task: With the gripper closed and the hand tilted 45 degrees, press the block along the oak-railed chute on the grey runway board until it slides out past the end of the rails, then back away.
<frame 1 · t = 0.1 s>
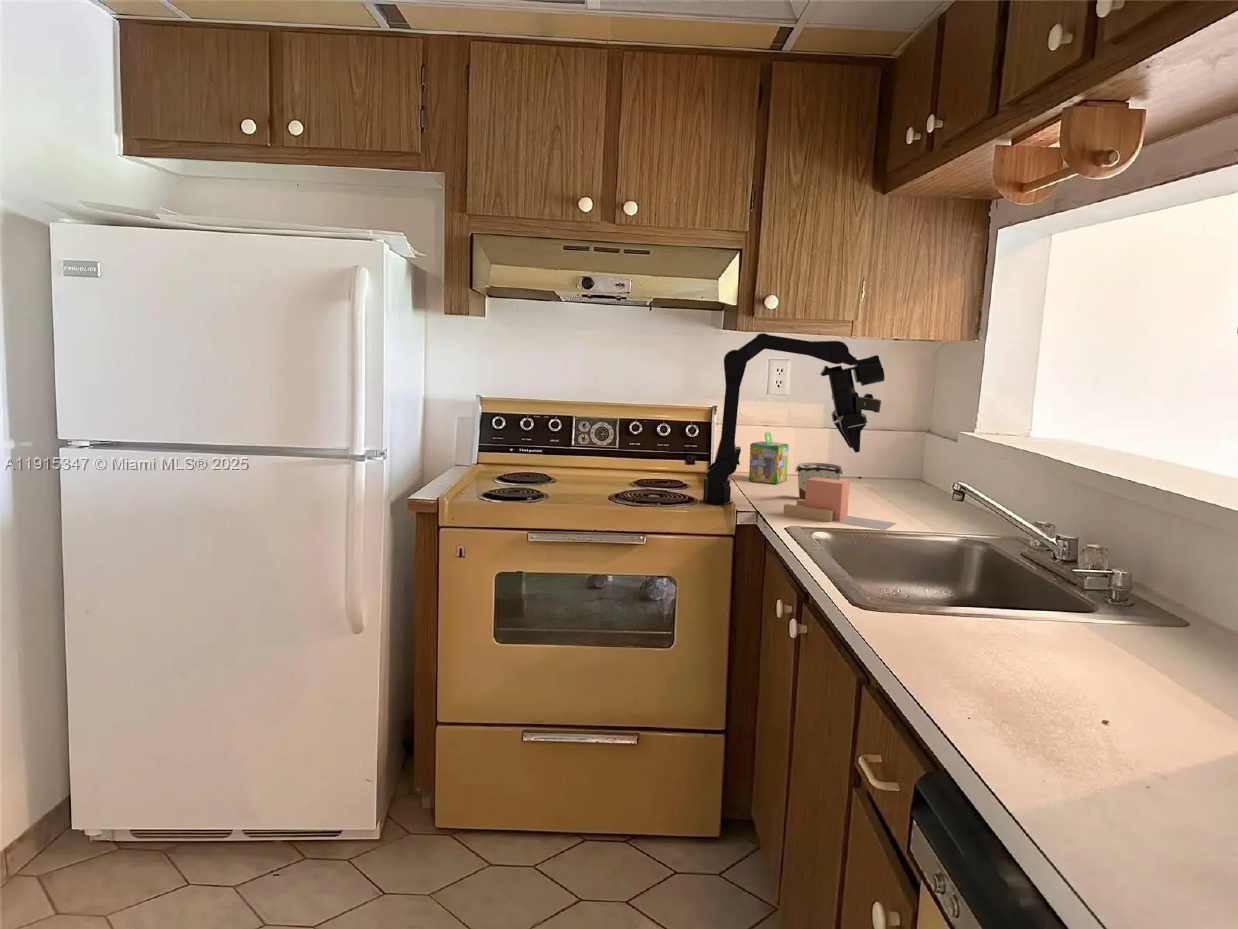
hand: (854, 449, 230), 15 cm above the worktop, tool pointing down, fingers open, 9 cm apart
chalk box: (767, 481, 272), on the worktop
chute: (813, 517, 220), on the worktop
block: (825, 516, 219), point 1 cm above the worktop, touching chute
food container: (815, 501, 243), on the worktop
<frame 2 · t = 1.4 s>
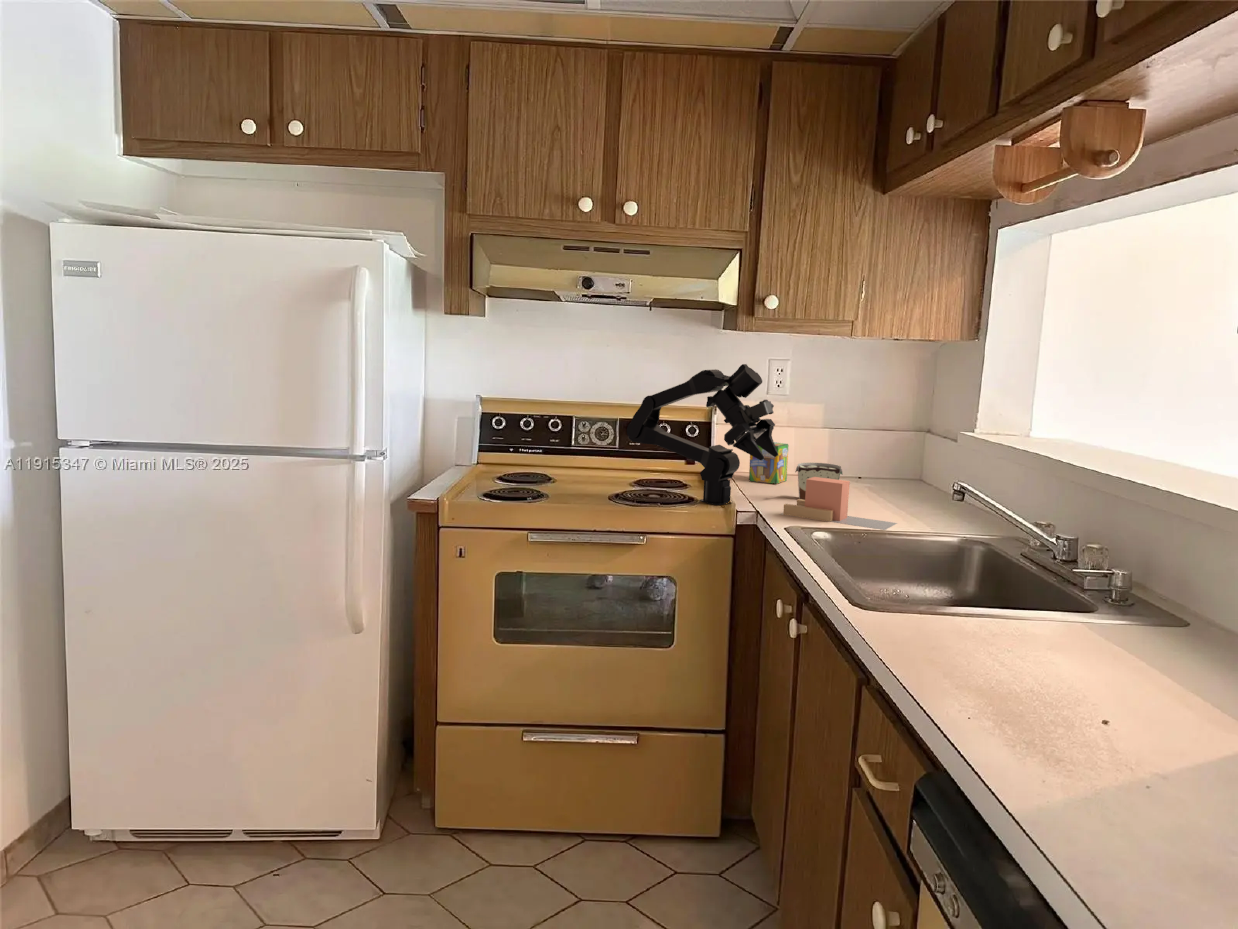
hand: (769, 457, 225), 13 cm above the worktop, tool tilted 45°, fingers open, 8 cm apart
nothing on the worktop moved.
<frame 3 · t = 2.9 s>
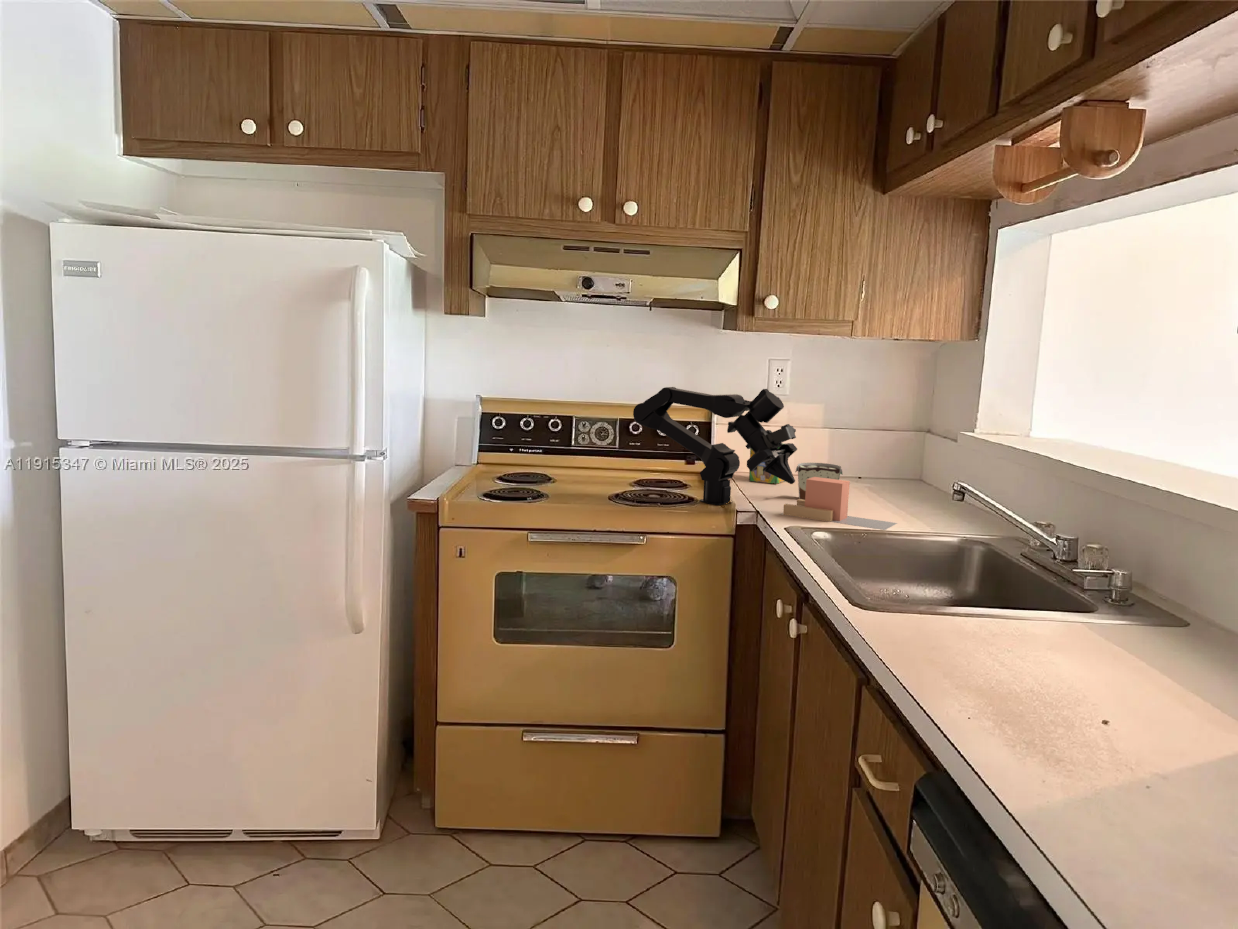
hand: (793, 482, 222), 8 cm above the worktop, tool tilted 45°, fingers closed
nothing on the worktop moved.
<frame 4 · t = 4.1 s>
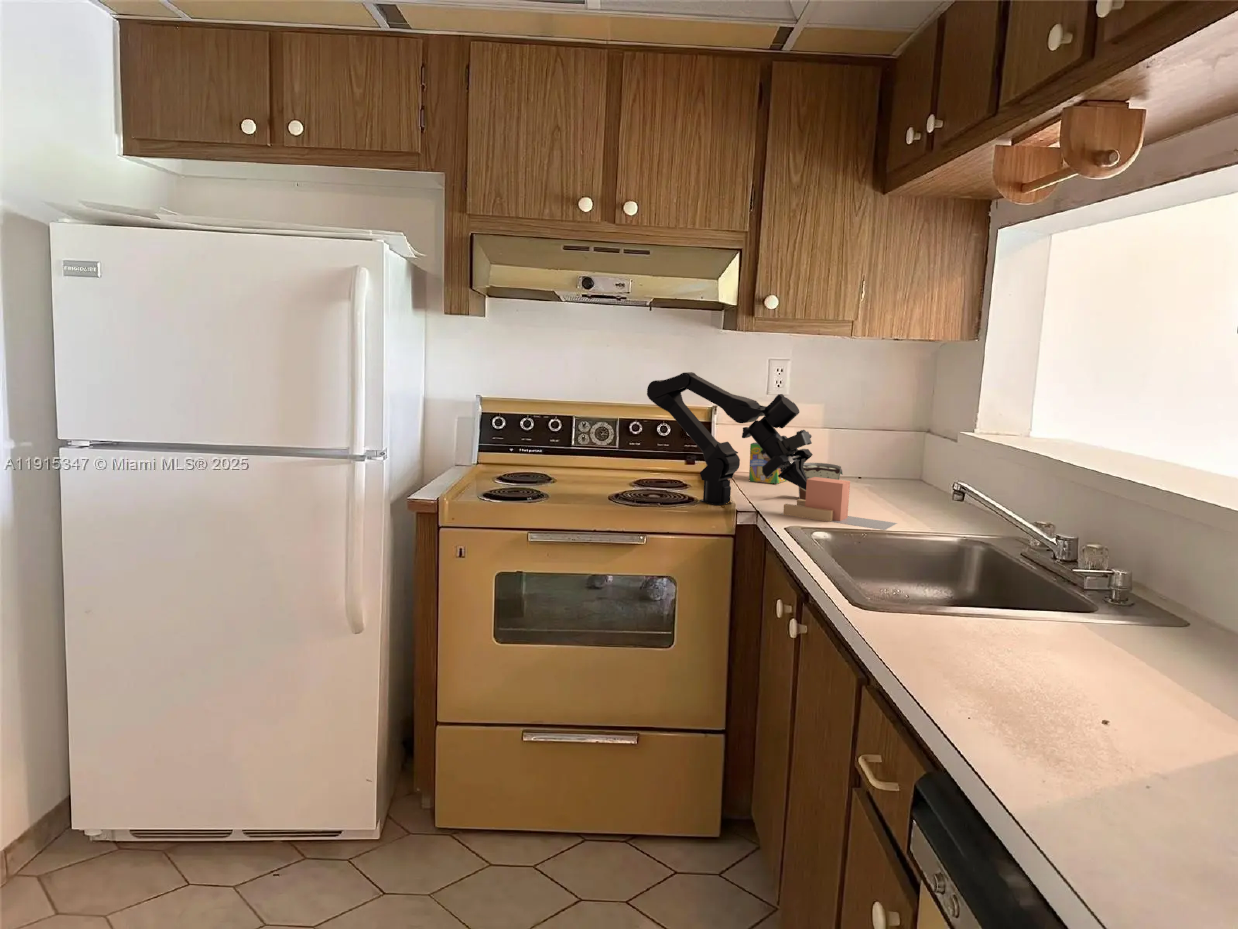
hand: (809, 489, 220), 7 cm above the worktop, tool tilted 45°, fingers closed, pressing on block
block: (825, 516, 219), point 1 cm above the worktop, touching gripper
everything else where it was.
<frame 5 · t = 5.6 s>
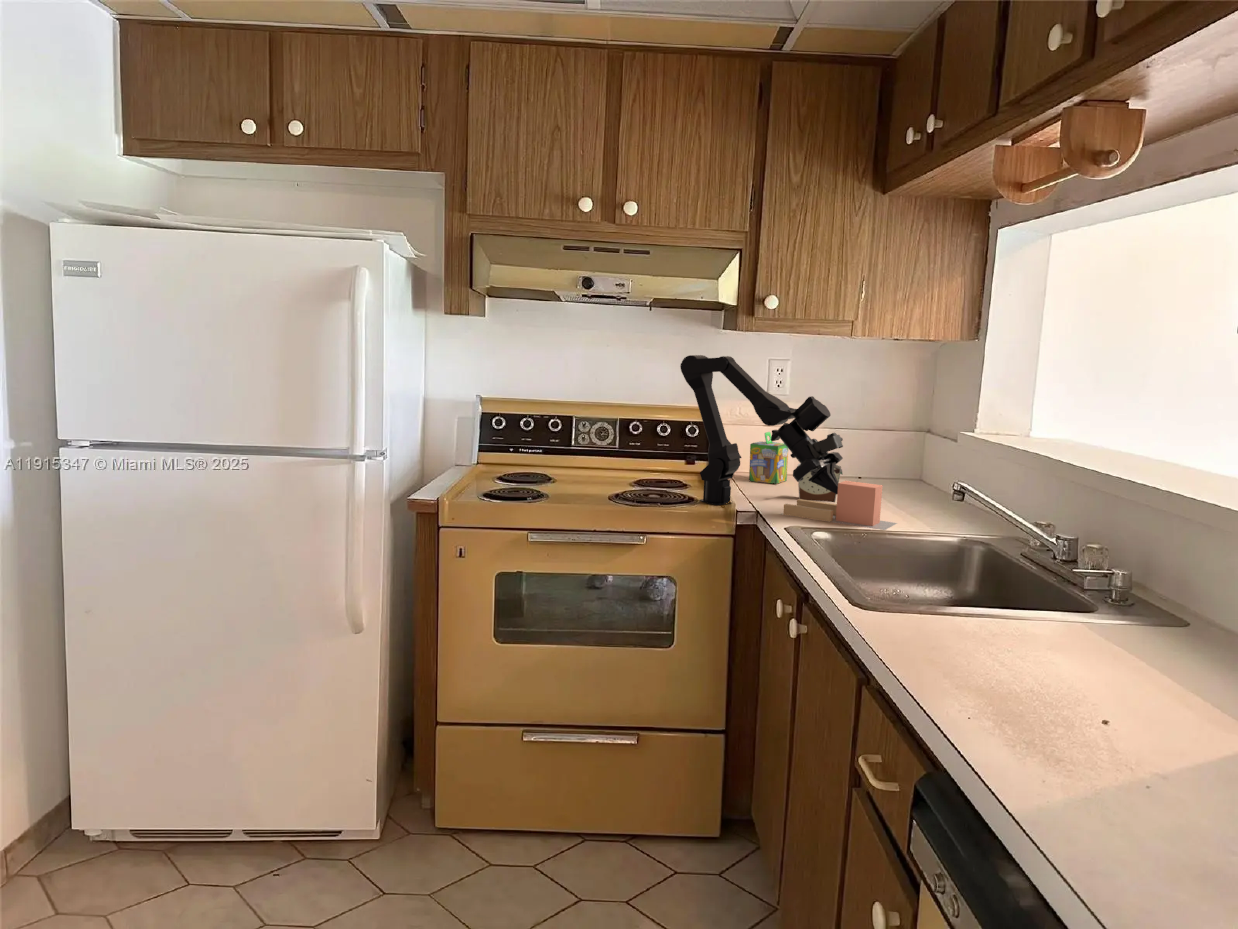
hand: (840, 493, 216), 7 cm above the worktop, tool tilted 45°, fingers closed, pressing on block
block: (857, 521, 214), point 1 cm above the worktop, touching chute, gripper
everything else where it was.
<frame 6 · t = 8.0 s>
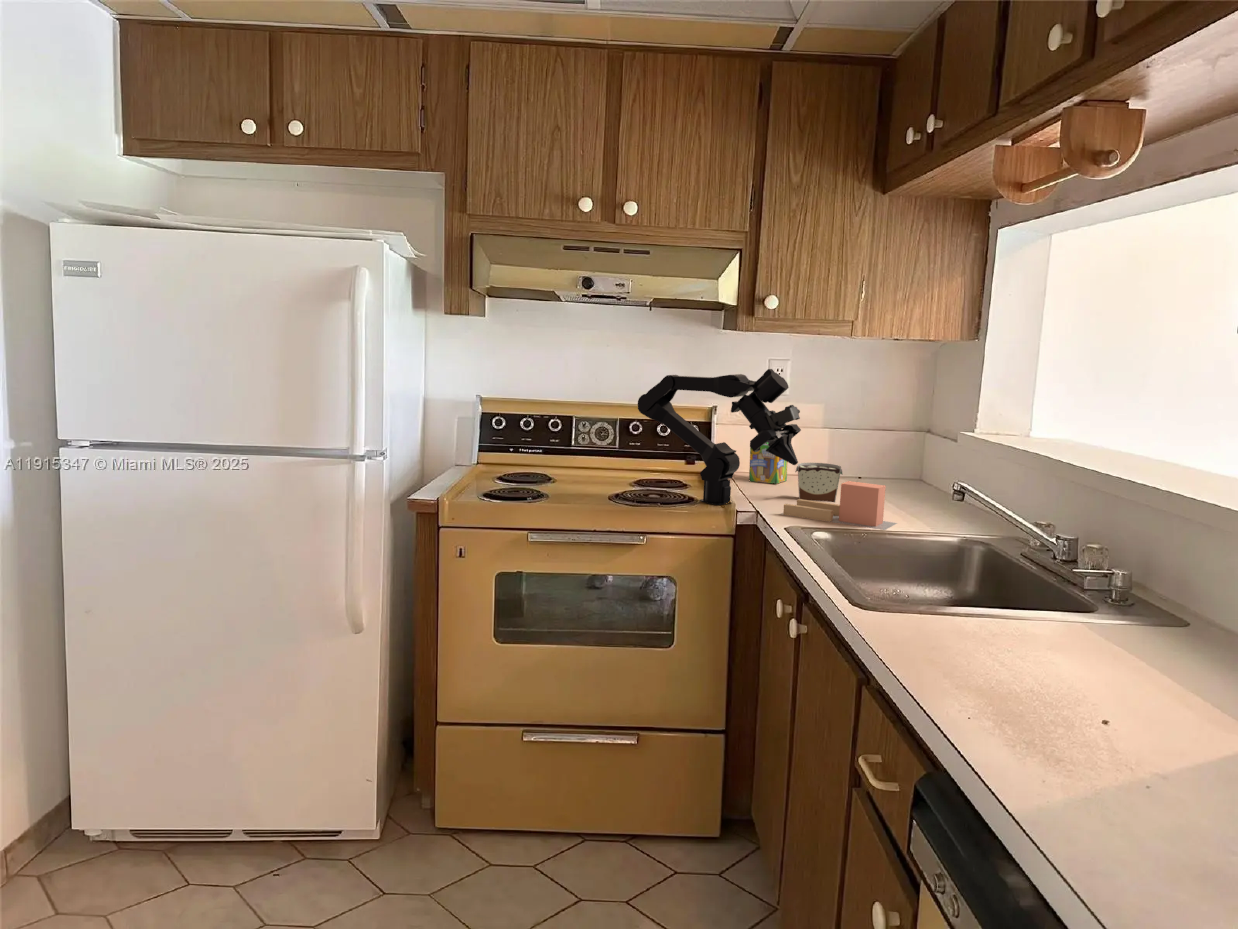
hand: (796, 464, 222), 13 cm above the worktop, tool tilted 45°, fingers closed
block: (860, 522, 214), point 1 cm above the worktop, touching chute
everything else where it was.
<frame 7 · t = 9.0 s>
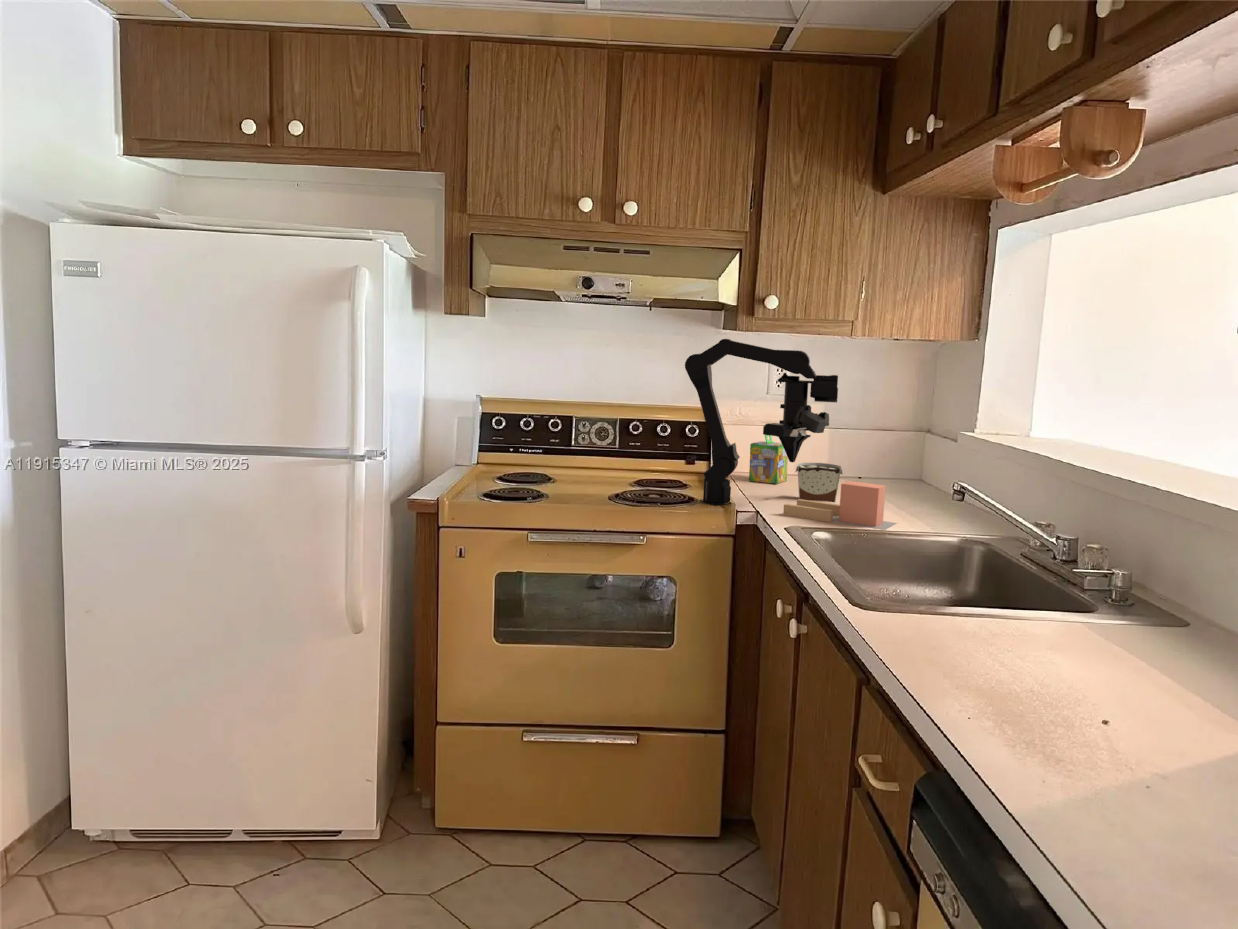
hand: (792, 462, 229), 12 cm above the worktop, tool pointing down, fingers closed
nothing on the worktop moved.
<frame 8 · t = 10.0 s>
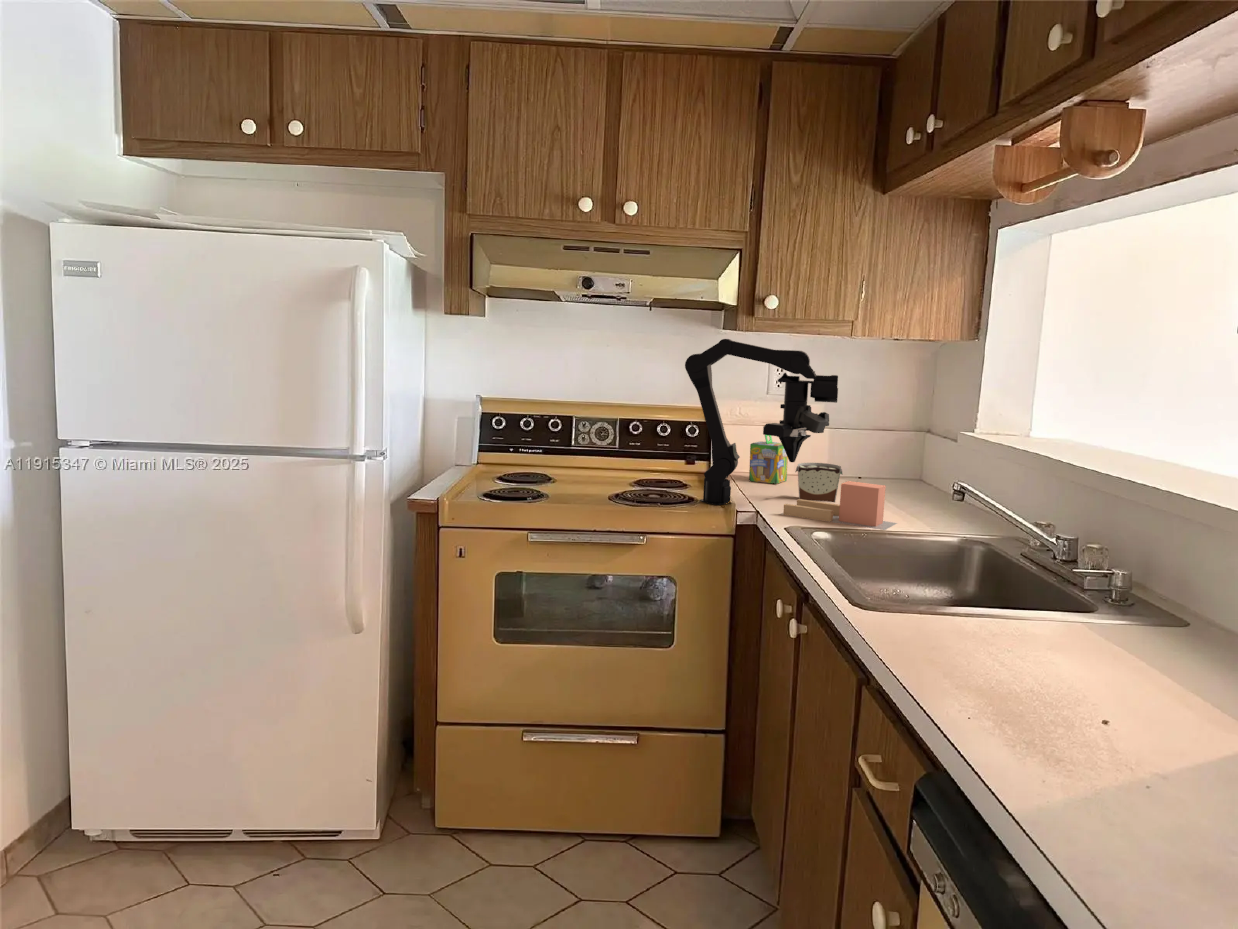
hand: (792, 462, 229), 12 cm above the worktop, tool pointing down, fingers closed
nothing on the worktop moved.
at the end: block inside the target area on the chute (3.8 cm from its centre), point 0.6 cm above the chute's base; block tilted 0°; block moved 8.8 cm from its start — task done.
